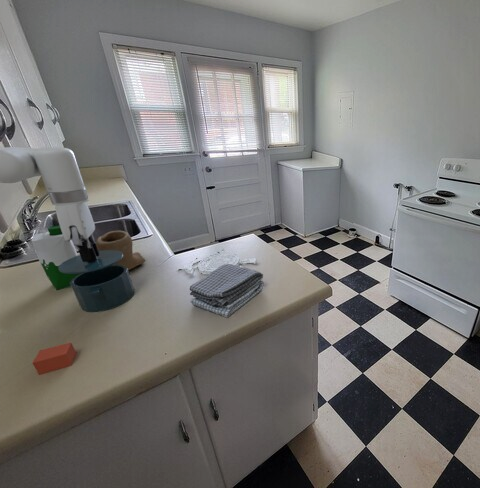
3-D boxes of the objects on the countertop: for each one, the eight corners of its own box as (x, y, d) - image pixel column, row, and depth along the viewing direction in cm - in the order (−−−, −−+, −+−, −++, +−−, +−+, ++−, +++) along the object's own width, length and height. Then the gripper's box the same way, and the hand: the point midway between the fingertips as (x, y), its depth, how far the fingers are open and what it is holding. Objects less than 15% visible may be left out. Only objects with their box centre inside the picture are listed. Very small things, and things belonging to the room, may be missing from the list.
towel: (266, 288, 90) (264, 267, 87) (225, 320, 75) (220, 296, 72) (232, 277, 96) (229, 258, 93) (188, 305, 81) (182, 283, 78)
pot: (71, 323, 74) (59, 297, 71) (89, 289, 90) (80, 266, 86) (130, 309, 80) (121, 284, 76) (138, 279, 95) (131, 258, 92)
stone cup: (115, 281, 94) (101, 242, 88) (95, 274, 99) (80, 236, 93) (155, 263, 107) (145, 227, 101) (136, 258, 111) (125, 223, 105)
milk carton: (87, 283, 93) (65, 229, 85) (51, 292, 88) (24, 235, 80) (87, 273, 100) (66, 222, 92) (53, 281, 94) (28, 228, 86)
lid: (51, 280, 70) (41, 257, 68) (69, 258, 83) (61, 238, 80) (119, 269, 77) (112, 248, 74) (127, 250, 89) (121, 231, 86)
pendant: (217, 248, 120) (216, 245, 120) (265, 262, 107) (264, 259, 107) (171, 268, 103) (171, 264, 103) (222, 287, 90) (221, 284, 90)
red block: (38, 374, 59) (32, 362, 57) (46, 361, 62) (39, 350, 61) (71, 365, 61) (65, 353, 60) (76, 353, 64) (71, 342, 63)
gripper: (61, 192, 77) (83, 250, 84) (37, 205, 64) (65, 273, 71) (94, 189, 80) (112, 246, 87) (78, 202, 67) (101, 267, 74)
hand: (91, 258), depth 79 cm, fingers closed on lid, 2 cm apart
